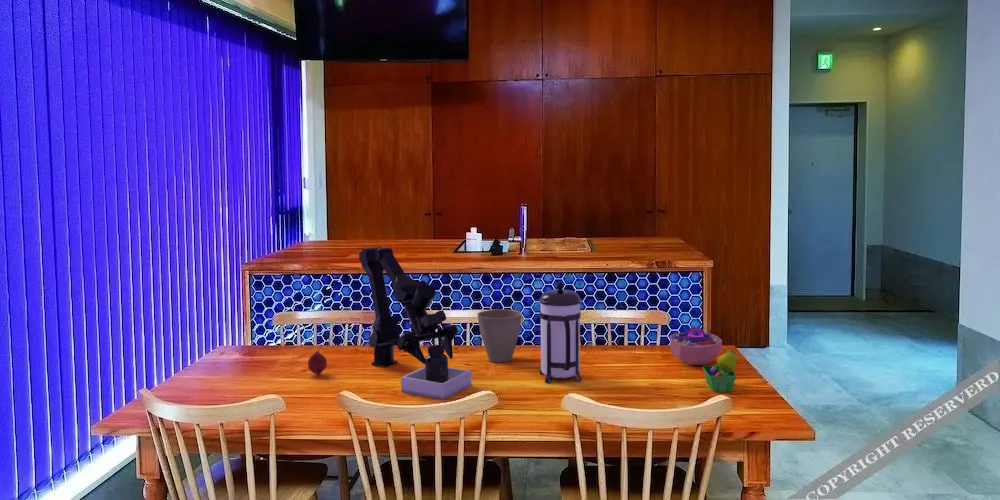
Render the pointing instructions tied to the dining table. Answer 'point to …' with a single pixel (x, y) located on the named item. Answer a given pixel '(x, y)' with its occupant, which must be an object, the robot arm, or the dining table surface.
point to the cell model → (695, 346)
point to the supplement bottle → (436, 364)
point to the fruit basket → (722, 373)
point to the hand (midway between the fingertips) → (438, 360)
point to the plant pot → (499, 333)
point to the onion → (317, 363)
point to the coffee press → (560, 334)
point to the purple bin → (436, 383)
